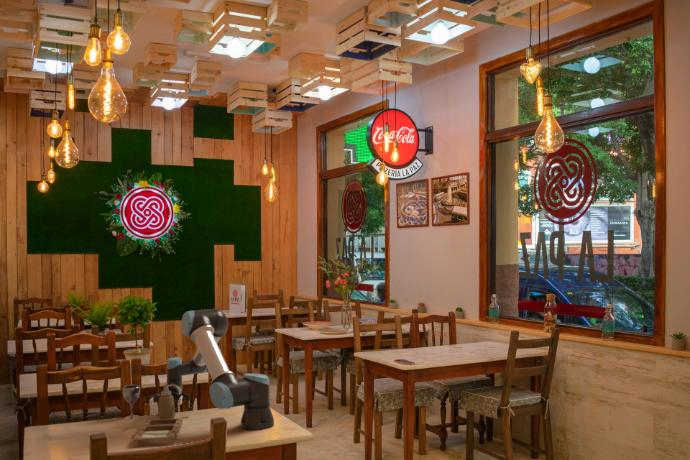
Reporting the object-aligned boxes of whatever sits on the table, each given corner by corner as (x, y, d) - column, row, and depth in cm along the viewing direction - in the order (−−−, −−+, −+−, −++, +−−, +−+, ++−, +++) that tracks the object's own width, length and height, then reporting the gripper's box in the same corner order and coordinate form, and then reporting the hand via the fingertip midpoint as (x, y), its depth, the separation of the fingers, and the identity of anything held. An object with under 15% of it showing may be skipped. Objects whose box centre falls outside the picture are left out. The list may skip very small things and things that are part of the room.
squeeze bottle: (170, 424, 302) (169, 385, 302) (154, 424, 303) (153, 385, 304) (178, 420, 310) (177, 382, 310) (162, 420, 311) (162, 382, 312)
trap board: (146, 426, 300) (146, 419, 300) (182, 424, 302) (182, 417, 302) (132, 447, 268) (132, 439, 268) (172, 444, 270) (172, 436, 270)
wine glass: (133, 414, 324) (133, 384, 325) (144, 416, 320) (143, 385, 320) (120, 418, 318) (119, 387, 318) (130, 420, 313) (129, 388, 314)
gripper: (197, 399, 326) (192, 409, 305) (146, 402, 323) (137, 412, 302) (197, 384, 327) (192, 392, 306) (145, 386, 324) (137, 396, 303)
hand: (165, 402), depth 304 cm, fingers open, 13 cm apart
